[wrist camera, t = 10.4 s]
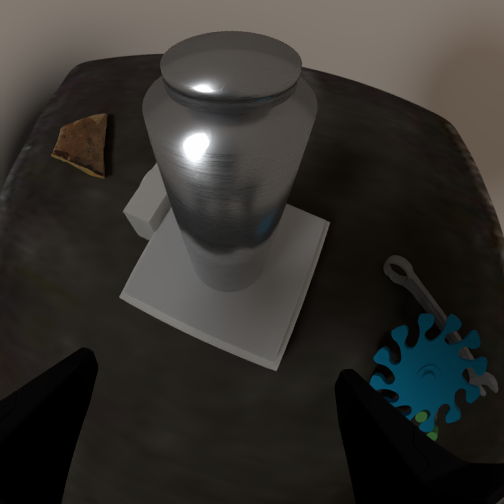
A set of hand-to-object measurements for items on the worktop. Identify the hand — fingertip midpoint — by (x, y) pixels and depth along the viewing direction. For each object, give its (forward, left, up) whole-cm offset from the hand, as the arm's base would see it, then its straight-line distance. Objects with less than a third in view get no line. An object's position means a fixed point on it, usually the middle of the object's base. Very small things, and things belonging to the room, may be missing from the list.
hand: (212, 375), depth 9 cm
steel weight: (+7, +3, -8) cm, 11 cm away
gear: (+4, -15, -12) cm, 20 cm away
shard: (+14, +24, -12) cm, 30 cm away
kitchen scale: (+7, +4, -11) cm, 14 cm away
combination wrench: (+8, -19, -12) cm, 24 cm away
